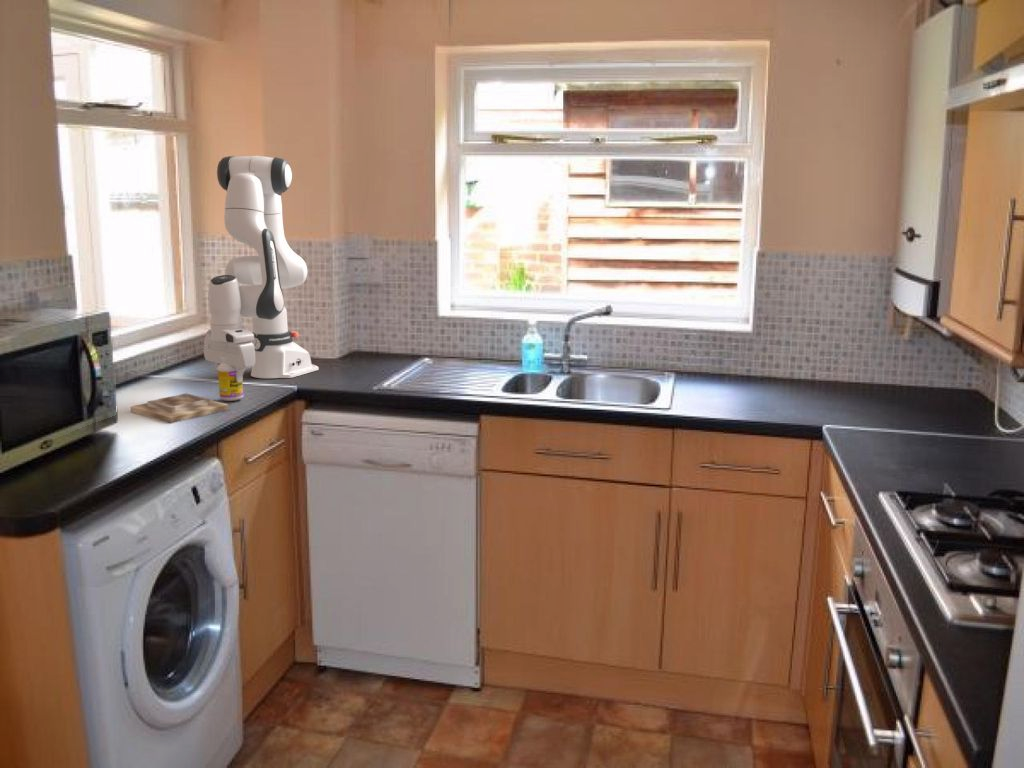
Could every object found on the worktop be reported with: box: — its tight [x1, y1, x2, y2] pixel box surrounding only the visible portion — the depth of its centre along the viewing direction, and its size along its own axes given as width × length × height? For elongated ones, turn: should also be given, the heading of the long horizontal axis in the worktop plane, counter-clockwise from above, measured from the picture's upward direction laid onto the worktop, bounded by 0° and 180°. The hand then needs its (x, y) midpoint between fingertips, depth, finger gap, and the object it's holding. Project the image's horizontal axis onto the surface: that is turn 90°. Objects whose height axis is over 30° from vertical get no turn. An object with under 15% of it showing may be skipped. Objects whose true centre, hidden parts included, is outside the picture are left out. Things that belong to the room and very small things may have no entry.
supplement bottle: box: [217, 356, 244, 402], centre depth 268 cm, size 7×7×13 cm
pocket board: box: [129, 392, 230, 424], centre depth 257 cm, size 18×20×3 cm
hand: (230, 379), depth 268 cm, fingers closed on supplement bottle, 7 cm apart
